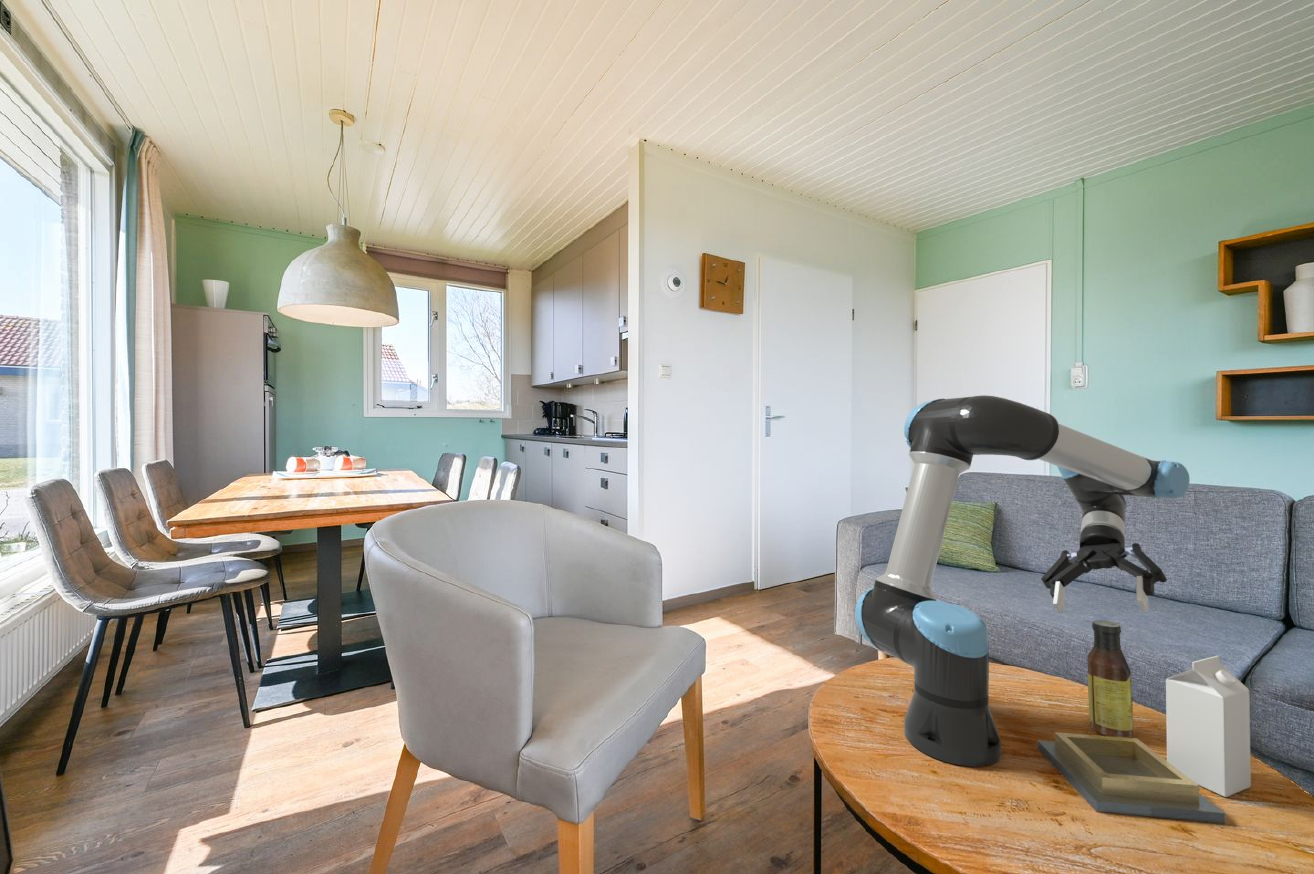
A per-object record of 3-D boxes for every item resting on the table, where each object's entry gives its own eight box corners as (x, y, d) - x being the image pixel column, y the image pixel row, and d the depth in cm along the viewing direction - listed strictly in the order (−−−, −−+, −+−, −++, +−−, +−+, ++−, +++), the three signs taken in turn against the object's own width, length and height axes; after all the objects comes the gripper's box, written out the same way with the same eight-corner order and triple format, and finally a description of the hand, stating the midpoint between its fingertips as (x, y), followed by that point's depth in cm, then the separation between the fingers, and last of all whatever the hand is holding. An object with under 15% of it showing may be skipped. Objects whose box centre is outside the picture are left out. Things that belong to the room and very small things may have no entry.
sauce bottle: (1143, 742, 95) (1141, 630, 95) (1107, 741, 95) (1106, 630, 95) (1112, 722, 102) (1111, 617, 102) (1079, 722, 102) (1078, 617, 102)
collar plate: (1096, 811, 78) (1096, 783, 78) (1037, 748, 93) (1037, 725, 93) (1225, 824, 75) (1224, 795, 75) (1141, 757, 91) (1141, 733, 91)
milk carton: (1166, 771, 87) (1164, 653, 87) (1192, 761, 89) (1190, 647, 89) (1225, 798, 80) (1223, 671, 80) (1251, 787, 83) (1249, 664, 83)
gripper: (1185, 541, 109) (1192, 620, 96) (1045, 555, 128) (1035, 622, 115) (1169, 513, 108) (1173, 588, 95) (1030, 531, 127) (1018, 596, 114)
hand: (1098, 607), depth 105 cm, fingers open, 13 cm apart
